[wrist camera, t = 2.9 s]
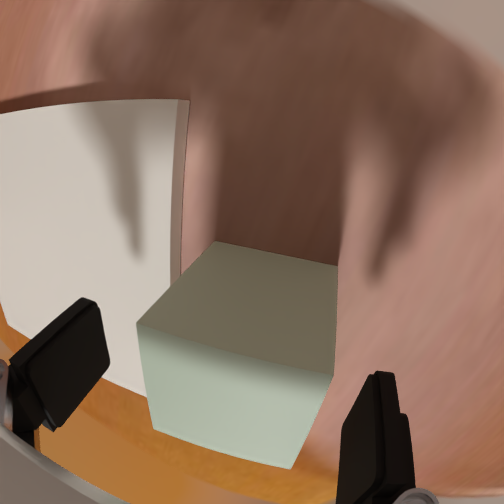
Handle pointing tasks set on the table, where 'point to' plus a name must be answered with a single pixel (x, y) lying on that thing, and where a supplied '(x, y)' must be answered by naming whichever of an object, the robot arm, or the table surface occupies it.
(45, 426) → the robot arm
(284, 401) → the block
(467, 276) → the table surface
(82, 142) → the pale board
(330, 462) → the table surface
